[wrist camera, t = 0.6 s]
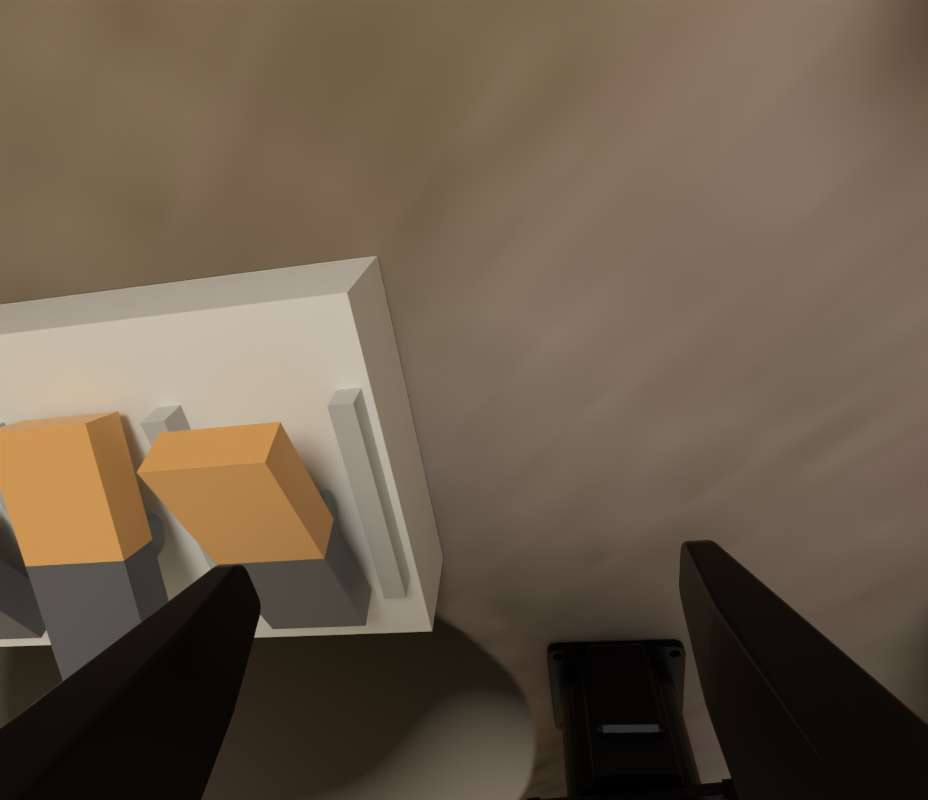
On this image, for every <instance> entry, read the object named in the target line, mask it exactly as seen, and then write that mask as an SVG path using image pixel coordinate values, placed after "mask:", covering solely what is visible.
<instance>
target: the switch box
mask: <svg viewBox="0 0 928 800" xmlns="http://www.w3.org/2000/svg"><path fill="white" fill-rule="evenodd" d="M116 411H118V412H119V416H120V420H121V424H122V427H123V431H124V435H125V439H126V442H127V446H128V450H129V454H130V457H131V461H132V465H133V468H134V472H135V476H136V480H137V483H138V487H139V491H140V495H141V498H142V502H143V506H144V510H145V513H146V514H149V513H152V514H155V515H157V516H158V517H159V518H160V519H161V520H162V522H163V525H164V528H165V541H164V545H163V548H162V550H161V552H160V554H159V555H158V556H157V558H158V562H159V566H160V570H161V573H162V577H163V581H164V585H165V588H166V592H167V596H168V600H171V599H172V598H173V597H175V596H176V595H177V594H179V593H180V592H181V591H183V590H184V589H185V588H187V587H188V586H189V585H191V584H192V583H193V582H195V581H196V580H197V579H199V578H200V577H201V576H203V575H204V574H205V573H206V572H208V571H209V570H210V569H212V568H213V567H215V566H217V564H216V563H215V562H214V561H213V560H212V559H211V558H210V556H209V555H208V554H207V553H206V552H205V551H204V550H203V548H202V547H201V546H200V545H199V544H198V543H197V542H196V540H195V539H194V538H193V537H192V536H191V535H190V533H189V532H188V531H187V530H186V529H185V528H184V527H183V525H182V524H181V523H180V522H179V521H178V520H177V519H176V517H175V516H174V515H173V514H172V513H171V512H170V510H169V509H168V508H167V507H166V506H165V505H164V504H163V502H162V501H161V500H160V499H159V498H158V497H157V496H156V494H155V493H154V492H153V491H152V490H151V489H150V488H149V486H148V485H147V484H146V483H145V482H144V481H143V479H142V478H141V477H140V476H139V475H138V474H137V471H138V469H139V468H140V466H141V464H142V462H143V461H144V459H145V457H146V456H147V454H148V452H149V450H150V449H151V447H152V445H153V443H154V442H155V440H156V438H157V437H158V435H159V433H161V432H172V431H184V430H195V429H206V428H217V427H228V426H239V425H250V424H261V423H272V422H281V424H282V426H283V428H284V429H285V431H286V433H287V435H288V437H289V439H290V440H291V442H292V444H293V446H294V448H295V450H296V451H297V453H298V455H299V457H300V459H301V461H302V462H303V464H304V466H305V468H306V470H307V472H308V473H309V475H310V477H311V479H312V481H313V482H314V484H315V486H316V488H317V490H329V491H331V493H332V494H333V496H334V499H335V503H336V510H337V522H336V524H337V526H338V528H339V530H340V532H341V534H342V535H343V537H344V539H345V541H346V543H347V545H348V546H349V548H350V550H351V552H352V554H353V556H354V557H355V559H356V561H357V563H358V565H359V566H360V568H361V570H362V572H363V574H364V576H365V577H366V579H367V581H368V583H369V585H370V587H371V588H372V591H371V597H370V603H369V609H368V615H367V621H366V626H348V627H321V628H294V629H272V628H271V626H270V625H269V624H268V623H267V622H266V621H265V620H264V618H263V617H262V616H261V615H260V617H259V621H258V625H257V629H256V632H255V636H254V638H257V637H284V636H285V637H286V636H314V635H343V634H371V633H398V632H427V631H432V629H433V622H434V616H435V609H436V603H437V596H438V589H439V583H440V576H441V569H442V563H443V555H442V551H441V546H440V542H439V537H438V532H437V528H436V523H435V519H434V514H433V509H432V505H431V500H430V496H429V491H428V487H427V482H426V477H425V473H424V468H423V464H422V459H421V455H420V450H419V445H418V441H417V436H416V432H415V427H414V423H413V418H412V413H411V409H410V404H409V400H408V395H407V390H406V386H405V381H404V377H403V372H402V368H401V363H400V358H399V354H398V349H397V345H396V340H395V336H394V331H393V326H392V322H391V317H390V313H389V308H388V304H387V299H386V294H385V290H384V285H383V281H382V276H381V272H380V267H379V262H378V258H377V256H371V257H363V258H355V259H348V260H340V261H332V262H325V263H317V264H309V265H301V266H294V267H286V268H278V269H271V270H263V271H255V272H248V273H240V274H232V275H224V276H217V277H209V278H201V279H194V280H186V281H178V282H170V283H163V284H155V285H147V286H140V287H132V288H124V289H117V290H109V291H101V292H93V293H86V294H78V295H70V296H63V297H55V298H47V299H39V300H32V301H24V302H16V303H9V304H1V305H0V427H3V426H7V425H10V424H13V423H16V422H19V421H23V420H34V419H44V418H54V417H64V416H75V415H85V414H95V413H106V412H116ZM0 558H1V559H2V560H4V561H5V562H6V563H8V564H9V565H10V566H12V567H13V568H14V569H16V570H17V571H18V572H20V573H21V574H22V575H24V576H25V577H26V578H28V579H29V580H30V578H29V575H28V572H27V569H26V566H25V563H24V560H23V557H22V554H21V551H20V548H19V545H18V541H17V538H16V535H15V532H14V529H13V526H12V523H11V520H10V517H9V514H8V511H7V508H6V505H5V502H4V498H3V495H2V492H1V489H0ZM29 645H51V643H50V640H49V637H48V634H47V630H46V631H45V633H44V634H43V636H42V638H25V639H0V647H1V646H29Z"/></svg>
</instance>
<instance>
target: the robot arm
mask: <svg viewBox="0 0 928 800" xmlns="http://www.w3.org/2000/svg"><path fill="white" fill-rule="evenodd" d="M679 589H680V596H681V601H682V606H683V610H684V614H685V619H686V623H687V627H688V631H689V636H690V640H691V644H692V649H693V653H694V657H695V662H696V666H697V670H698V674H699V679H700V683H701V687H702V691H703V695H704V699H705V703H706V706H707V709H708V712H709V715H710V718H711V721H712V724H713V727H714V730H715V733H716V736H717V738H718V741H719V744H720V747H721V750H722V753H723V755H724V758H725V761H726V764H727V767H728V769H729V772H730V775H731V779H722V782H718V783H707V784H701V781H700V777H699V773H698V770H697V766H696V762H695V759H694V755H693V751H692V747H691V744H690V740H689V736H688V732H687V729H686V725H685V721H684V717H683V714H682V709H683V691H684V673H685V655H686V653H685V650H684V646H683V643H682V642H681V641H678V640H644V641H612V642H580V643H555V644H552V645H550V646H549V647H548V649H547V655H548V665H549V673H550V682H551V691H552V699H553V708H554V717H555V725H556V727H557V728H558V729H559V730H562V732H563V745H564V758H565V772H566V785H567V797H560V798H550V799H540V797H534V798H527V800H928V724H927V723H926V722H925V721H923V720H922V719H921V718H920V717H919V716H918V715H916V714H915V713H914V712H913V711H912V710H911V709H909V708H908V707H907V706H906V705H905V704H904V703H902V702H901V701H900V700H899V699H898V698H897V697H895V696H894V695H893V694H892V693H891V692H890V691H888V690H887V689H886V688H885V687H884V686H883V685H881V684H880V683H879V682H878V681H877V680H876V679H874V678H873V677H872V676H871V675H870V674H868V673H867V672H866V671H865V670H864V669H863V668H861V667H860V666H859V665H858V664H857V663H856V662H854V661H853V660H852V659H851V658H850V657H849V656H847V655H846V654H845V653H844V652H843V651H842V650H840V649H839V648H838V647H837V646H836V645H835V644H833V643H832V642H831V641H830V640H829V639H828V638H826V637H825V636H824V635H823V634H822V633H821V632H819V631H818V630H817V629H816V628H815V627H814V626H812V625H811V624H810V623H809V622H808V621H807V620H805V619H804V618H803V617H802V616H801V615H800V614H798V613H797V612H796V611H795V610H794V609H793V608H791V607H790V606H789V605H788V604H787V603H785V602H784V601H783V600H782V599H781V598H780V597H778V596H777V595H776V594H775V593H774V592H773V591H771V590H770V589H769V588H768V587H767V586H766V585H764V584H763V583H762V582H761V581H760V580H759V579H757V578H756V577H755V576H754V575H753V574H752V573H750V572H749V571H748V570H747V569H746V568H745V567H743V566H742V565H741V564H740V563H739V562H738V561H736V560H735V559H734V558H733V557H732V556H731V555H729V554H728V553H727V552H726V551H725V550H724V549H722V548H721V547H720V546H719V545H718V544H716V543H715V542H713V541H711V540H697V541H685V542H684V543H683V544H682V546H681V554H680V575H679ZM260 612H261V604H260V599H259V596H258V594H257V591H256V589H255V587H254V584H253V582H252V580H251V577H250V575H249V573H248V570H247V569H246V567H245V566H244V565H242V564H221V565H217V566H215V567H213V568H212V569H210V570H209V571H208V572H206V573H205V574H204V575H203V576H201V577H200V578H199V579H197V580H196V581H195V582H193V583H192V584H191V585H189V586H188V587H187V588H185V589H184V590H183V591H181V592H180V593H179V594H177V595H176V596H175V597H173V598H172V599H171V600H169V601H168V602H167V603H166V604H164V605H163V606H162V607H160V608H159V609H158V610H156V611H155V612H154V613H152V614H151V615H150V616H148V617H147V618H146V619H144V620H143V621H142V622H140V623H139V624H138V625H136V626H135V627H134V628H132V629H131V630H130V631H129V632H127V633H126V634H125V635H123V636H122V637H121V638H119V639H118V640H117V641H115V642H114V643H113V644H111V645H110V646H109V647H107V648H106V649H105V650H103V651H102V652H101V653H99V654H98V655H97V656H95V657H94V658H93V659H91V660H90V661H89V662H88V663H86V664H85V665H84V666H82V667H81V668H80V669H78V670H77V671H76V672H74V673H73V674H72V675H70V676H69V677H68V678H66V679H65V680H64V681H63V682H61V683H60V684H58V685H57V686H56V687H54V688H53V689H52V690H51V691H49V692H48V693H47V694H45V695H44V696H43V697H41V698H40V699H39V700H37V701H36V702H35V703H33V704H32V705H31V706H29V707H28V708H27V709H25V710H24V711H23V712H21V713H20V714H19V715H18V716H16V717H15V718H13V719H12V720H11V721H10V722H8V723H7V724H6V725H4V726H3V727H2V728H0V800H201V798H202V796H203V793H204V790H205V787H206V785H207V782H208V780H209V777H210V774H211V772H212V769H213V766H214V764H215V761H216V758H217V756H218V753H219V750H220V748H221V745H222V742H223V740H224V737H225V734H226V731H227V729H228V726H229V723H230V721H231V718H232V715H233V712H234V709H235V706H236V702H237V699H238V696H239V692H240V688H241V684H242V681H243V677H244V674H245V669H246V666H247V662H248V658H249V655H250V651H251V647H252V643H253V640H254V636H255V632H256V629H257V625H258V621H259V617H260Z"/></svg>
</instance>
